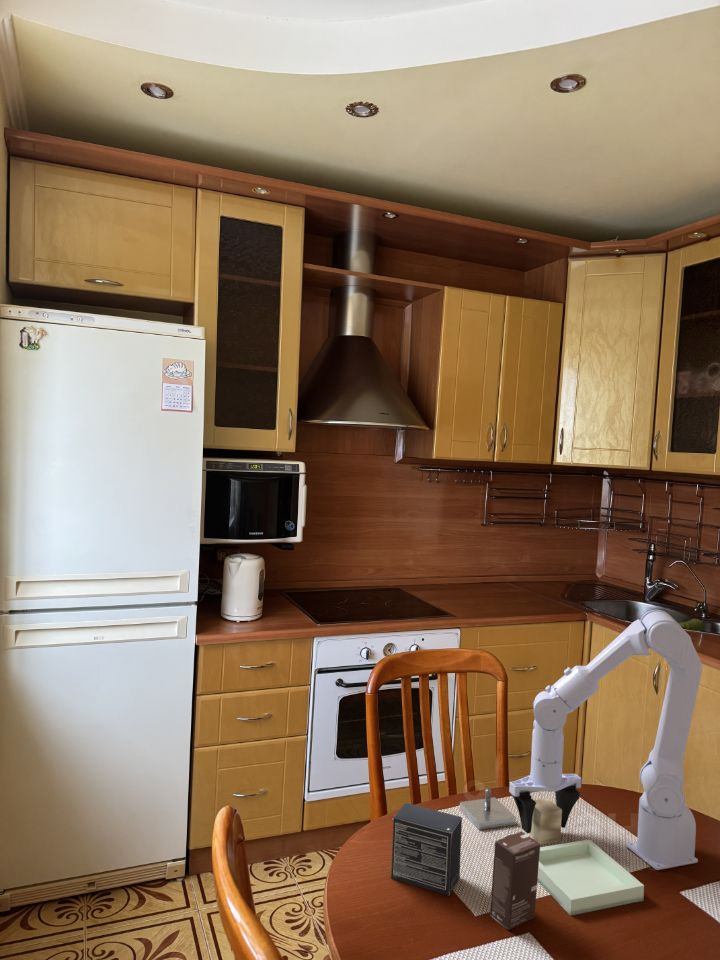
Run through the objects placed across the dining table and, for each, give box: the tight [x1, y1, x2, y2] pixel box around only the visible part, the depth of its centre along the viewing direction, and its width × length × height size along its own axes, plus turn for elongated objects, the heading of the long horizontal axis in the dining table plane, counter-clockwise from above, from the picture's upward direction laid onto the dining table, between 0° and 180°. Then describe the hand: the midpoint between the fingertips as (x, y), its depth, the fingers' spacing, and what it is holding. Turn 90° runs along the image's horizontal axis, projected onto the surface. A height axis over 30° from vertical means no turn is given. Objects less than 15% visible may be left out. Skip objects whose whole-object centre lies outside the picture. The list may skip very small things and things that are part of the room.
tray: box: [537, 839, 645, 916], centre depth 116 cm, size 14×14×2 cm
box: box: [489, 831, 541, 931], centre depth 106 cm, size 6×4×12 cm
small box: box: [390, 802, 463, 897], centre depth 115 cm, size 11×6×10 cm, turn 65°
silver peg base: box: [459, 787, 517, 831], centre depth 136 cm, size 8×8×6 cm
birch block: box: [527, 797, 562, 845], centre depth 130 cm, size 4×4×6 cm
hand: (543, 827), depth 130 cm, fingers open, 7 cm apart
